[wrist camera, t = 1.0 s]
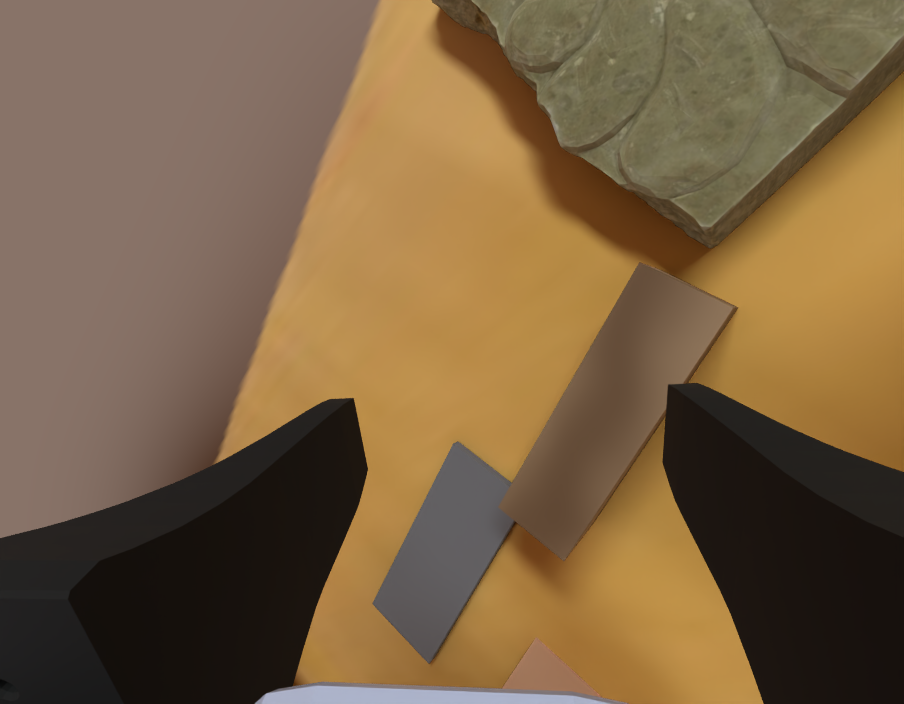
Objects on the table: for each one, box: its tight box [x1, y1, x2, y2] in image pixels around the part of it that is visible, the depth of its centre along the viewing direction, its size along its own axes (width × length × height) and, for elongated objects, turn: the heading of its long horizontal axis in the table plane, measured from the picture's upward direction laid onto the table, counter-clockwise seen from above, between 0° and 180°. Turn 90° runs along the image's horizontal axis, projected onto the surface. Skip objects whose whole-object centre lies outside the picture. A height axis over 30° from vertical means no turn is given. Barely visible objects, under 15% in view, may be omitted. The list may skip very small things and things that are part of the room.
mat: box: [373, 442, 515, 663], centre depth 29 cm, size 5×13×1 cm, turn 152°
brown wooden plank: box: [498, 262, 738, 561], centre depth 21 cm, size 4×12×4 cm, turn 152°
